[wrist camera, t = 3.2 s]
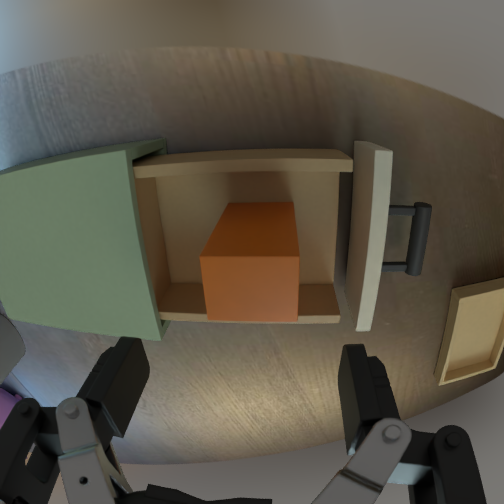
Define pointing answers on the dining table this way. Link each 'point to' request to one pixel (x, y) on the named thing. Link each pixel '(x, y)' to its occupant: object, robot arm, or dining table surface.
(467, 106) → the dining table surface
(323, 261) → the drawer
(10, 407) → the teapot
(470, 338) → the tray
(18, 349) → the cup
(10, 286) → the cabinet
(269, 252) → the block
